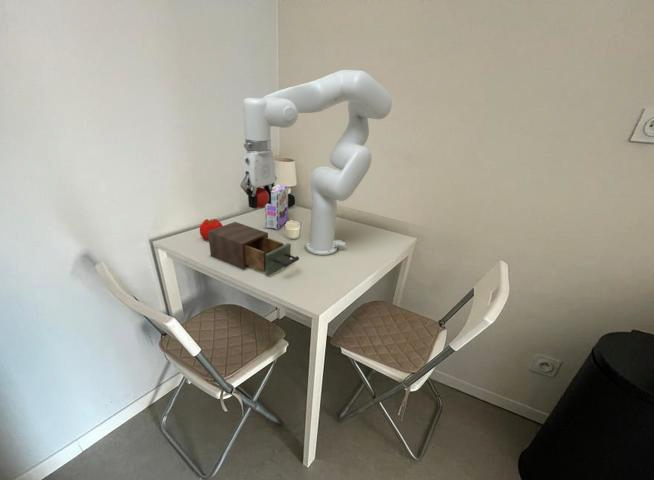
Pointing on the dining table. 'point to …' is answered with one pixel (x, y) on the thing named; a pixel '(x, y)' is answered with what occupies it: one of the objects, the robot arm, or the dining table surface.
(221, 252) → the cabinet
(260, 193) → the apple
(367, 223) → the dining table surface
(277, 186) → the candy box
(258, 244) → the drawer
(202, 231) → the tomato
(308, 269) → the dining table surface
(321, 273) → the dining table surface
